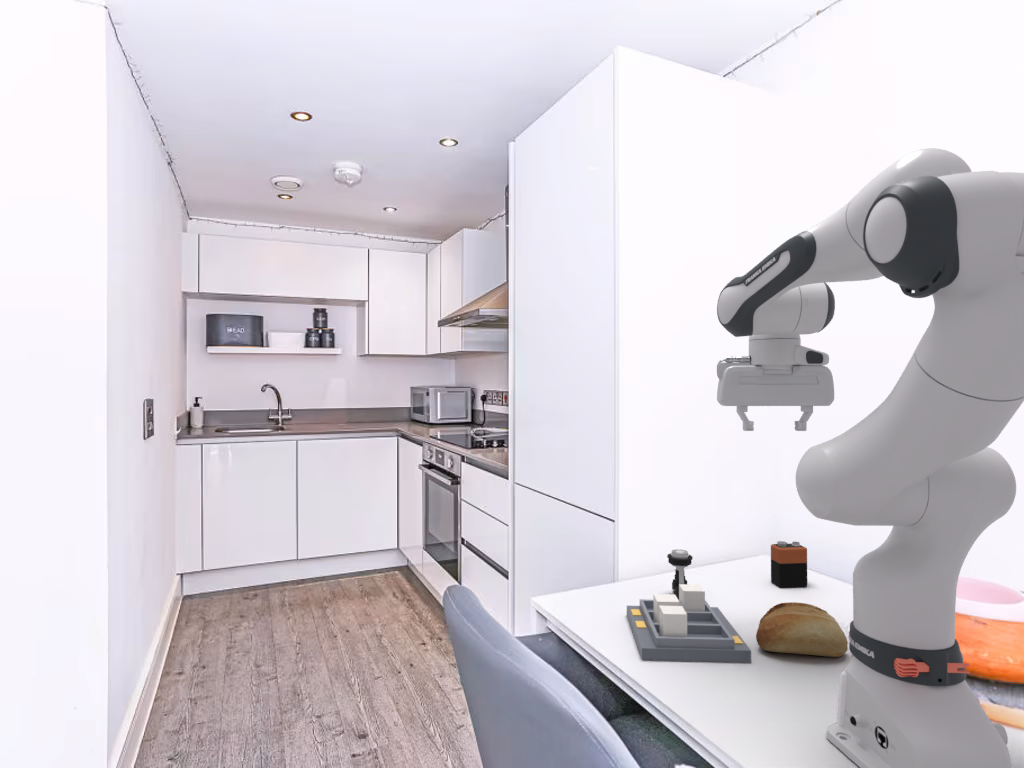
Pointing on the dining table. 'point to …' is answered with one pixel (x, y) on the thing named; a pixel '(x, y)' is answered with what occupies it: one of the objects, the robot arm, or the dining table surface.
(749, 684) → the dining table surface
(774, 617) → the bread roll
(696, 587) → the tab
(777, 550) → the battery
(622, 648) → the dining table surface
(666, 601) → the tab
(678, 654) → the switch bank
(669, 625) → the tab
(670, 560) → the push button
